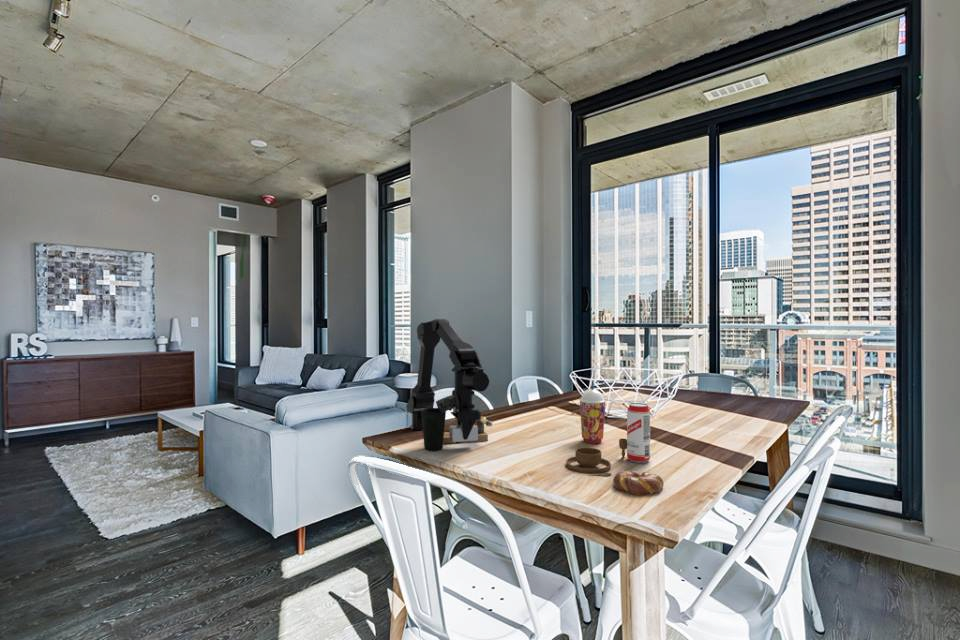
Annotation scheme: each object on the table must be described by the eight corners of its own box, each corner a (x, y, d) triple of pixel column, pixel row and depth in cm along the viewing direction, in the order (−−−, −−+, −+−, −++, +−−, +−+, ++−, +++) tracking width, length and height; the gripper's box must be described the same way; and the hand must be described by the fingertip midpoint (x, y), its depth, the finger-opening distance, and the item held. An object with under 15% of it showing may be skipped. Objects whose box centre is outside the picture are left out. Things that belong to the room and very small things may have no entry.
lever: (478, 415, 168) (478, 412, 168) (495, 425, 152) (495, 421, 152) (468, 416, 167) (468, 413, 167) (484, 426, 151) (484, 422, 151)
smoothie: (577, 438, 161) (577, 379, 161) (602, 438, 161) (602, 379, 161) (581, 444, 153) (582, 382, 153) (608, 445, 152) (608, 382, 152)
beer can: (640, 465, 132) (641, 407, 132) (622, 459, 137) (622, 403, 137) (654, 461, 135) (654, 405, 135) (636, 456, 140) (636, 401, 140)
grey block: (449, 438, 149) (449, 425, 149) (474, 436, 151) (474, 424, 151) (452, 442, 145) (452, 428, 145) (477, 440, 147) (477, 427, 147)
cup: (447, 445, 151) (447, 408, 151) (443, 452, 144) (443, 412, 144) (424, 445, 152) (424, 407, 152) (418, 451, 144) (418, 412, 144)
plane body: (433, 439, 160) (433, 420, 160) (481, 435, 164) (482, 418, 164) (437, 444, 153) (437, 425, 153) (487, 440, 157) (487, 422, 157)
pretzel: (653, 481, 120) (654, 466, 120) (672, 497, 109) (672, 480, 109) (606, 480, 120) (606, 465, 120) (620, 496, 109) (620, 480, 109)
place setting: (558, 459, 139) (558, 439, 139) (625, 457, 141) (625, 437, 140) (575, 479, 121) (575, 456, 121) (651, 477, 123) (651, 454, 123)
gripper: (432, 384, 155) (432, 432, 155) (444, 393, 137) (444, 447, 137) (465, 383, 158) (465, 430, 158) (481, 391, 140) (481, 444, 140)
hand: (463, 437), depth 148 cm, fingers closed on grey block, 4 cm apart
